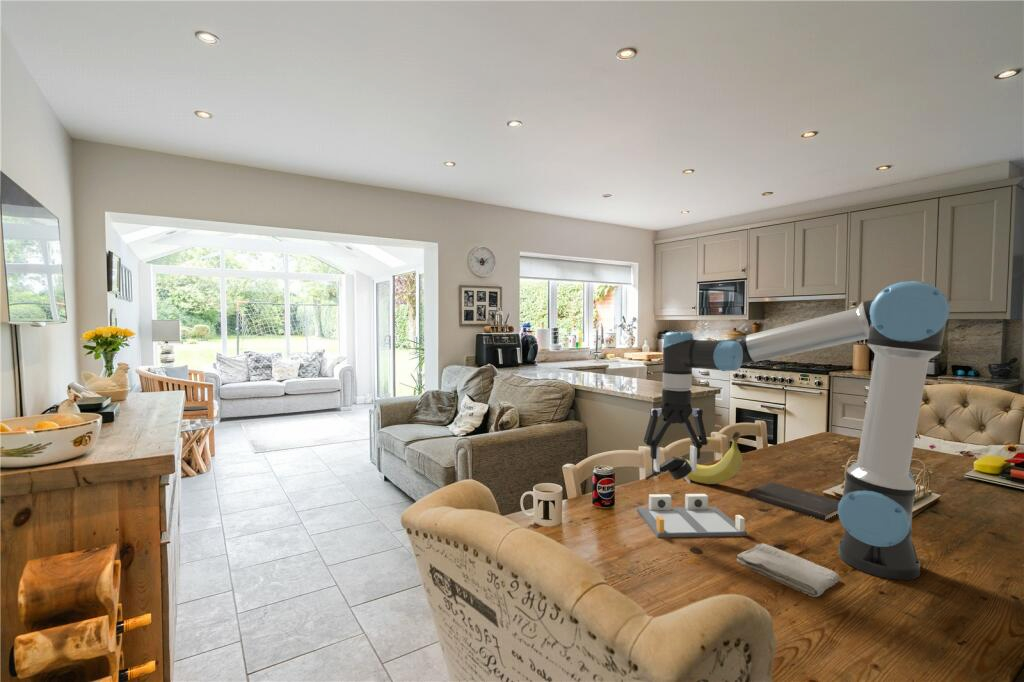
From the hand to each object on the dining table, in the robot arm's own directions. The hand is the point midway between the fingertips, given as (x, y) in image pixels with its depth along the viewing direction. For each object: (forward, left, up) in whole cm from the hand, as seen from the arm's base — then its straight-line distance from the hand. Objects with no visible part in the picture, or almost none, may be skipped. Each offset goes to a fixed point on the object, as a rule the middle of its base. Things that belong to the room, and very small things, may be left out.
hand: (674, 470), depth 129 cm
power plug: (+1, +1, -3) cm, 4 cm away
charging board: (+2, -5, -16) cm, 17 cm away
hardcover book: (+16, -46, -16) cm, 51 cm away
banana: (+34, -25, -16) cm, 45 cm away
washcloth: (-24, -16, -16) cm, 33 cm away
